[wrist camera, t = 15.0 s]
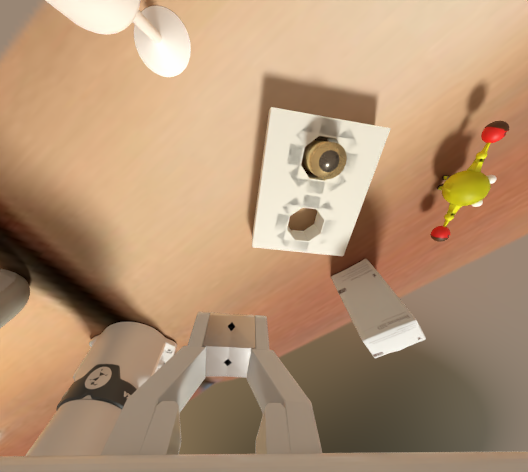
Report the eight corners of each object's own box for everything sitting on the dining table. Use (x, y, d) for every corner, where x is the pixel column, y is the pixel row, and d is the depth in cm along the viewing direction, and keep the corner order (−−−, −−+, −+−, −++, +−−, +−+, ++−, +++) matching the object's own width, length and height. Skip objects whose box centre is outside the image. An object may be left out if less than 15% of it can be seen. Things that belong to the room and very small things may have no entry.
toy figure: (433, 231, 39) (466, 249, 33) (406, 229, 39) (435, 247, 33) (488, 124, 31) (544, 122, 25) (455, 120, 31) (504, 117, 25)
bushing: (324, 172, 33) (340, 181, 27) (297, 168, 33) (308, 176, 26) (331, 142, 31) (351, 144, 25) (303, 138, 31) (316, 139, 25)
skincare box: (365, 257, 41) (419, 316, 28) (376, 276, 43) (430, 339, 30) (328, 277, 43) (362, 341, 30) (340, 295, 45) (376, 362, 32)
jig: (334, 245, 39) (343, 256, 36) (252, 236, 38) (252, 247, 34) (374, 128, 31) (390, 128, 27) (268, 110, 29) (271, 107, 25)
